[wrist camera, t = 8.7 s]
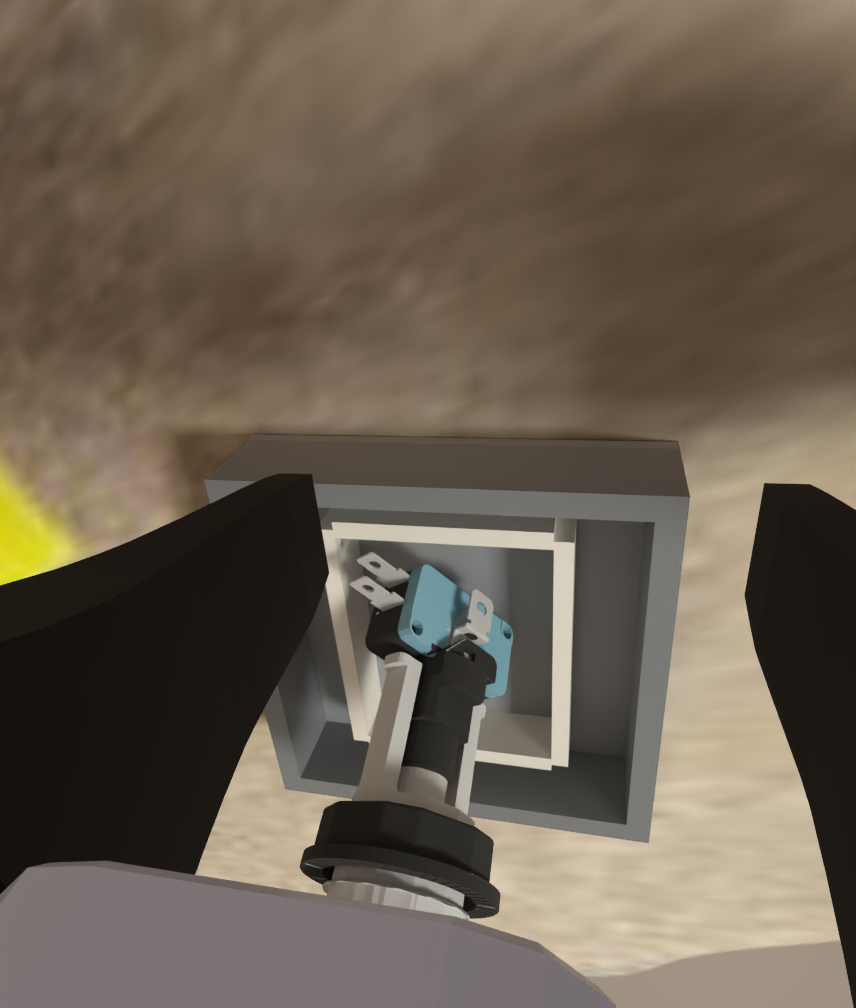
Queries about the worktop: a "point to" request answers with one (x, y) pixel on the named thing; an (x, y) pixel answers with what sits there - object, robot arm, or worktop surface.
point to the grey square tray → (506, 607)
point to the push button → (419, 752)
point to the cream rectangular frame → (341, 528)
